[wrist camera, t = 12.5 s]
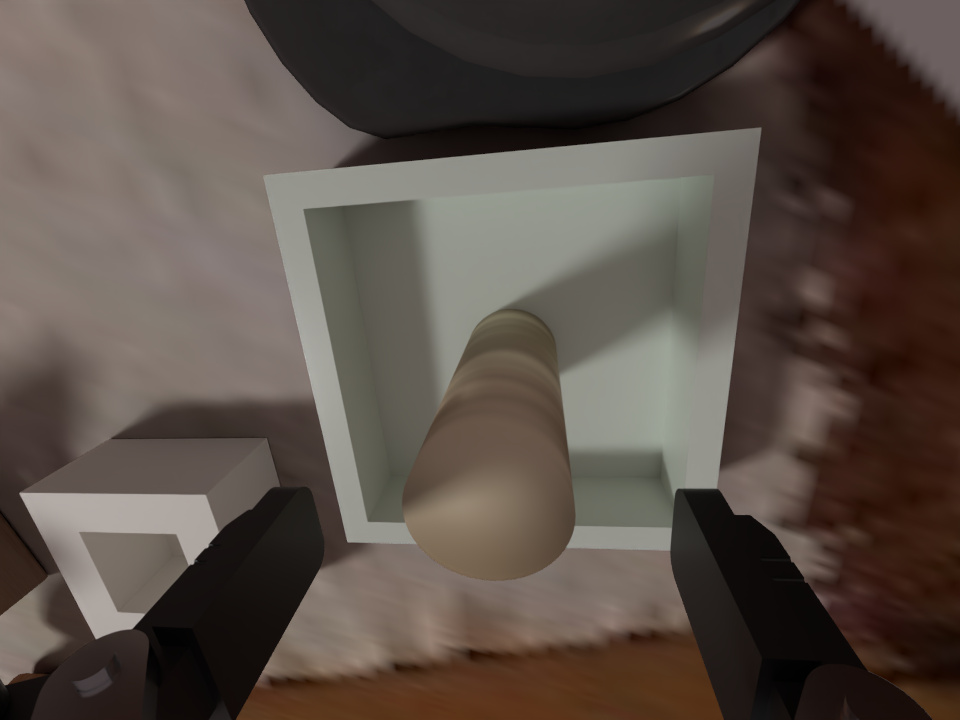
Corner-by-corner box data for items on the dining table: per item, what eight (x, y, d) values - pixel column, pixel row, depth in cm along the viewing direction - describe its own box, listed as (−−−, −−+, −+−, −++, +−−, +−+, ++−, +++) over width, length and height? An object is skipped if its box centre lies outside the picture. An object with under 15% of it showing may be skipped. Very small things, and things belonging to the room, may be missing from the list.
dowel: (464, 311, 20) (390, 439, 10) (555, 306, 20) (575, 436, 9) (472, 392, 22) (413, 577, 11) (557, 390, 21) (575, 583, 11)
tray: (320, 177, 20) (263, 175, 16) (708, 141, 18) (761, 127, 13) (378, 483, 25) (347, 542, 21) (678, 485, 23) (709, 551, 19)
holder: (109, 439, 27) (19, 492, 22) (266, 437, 25) (205, 494, 21) (164, 570, 30) (96, 640, 25) (305, 575, 29) (260, 650, 24)
